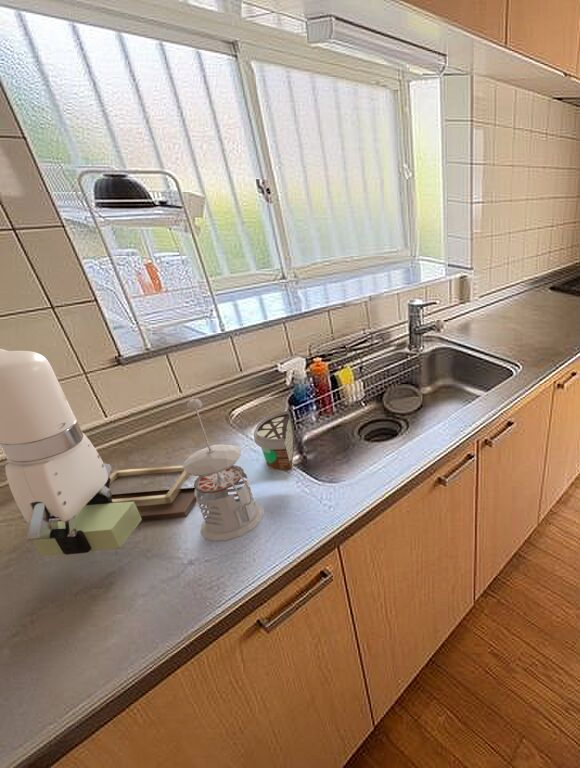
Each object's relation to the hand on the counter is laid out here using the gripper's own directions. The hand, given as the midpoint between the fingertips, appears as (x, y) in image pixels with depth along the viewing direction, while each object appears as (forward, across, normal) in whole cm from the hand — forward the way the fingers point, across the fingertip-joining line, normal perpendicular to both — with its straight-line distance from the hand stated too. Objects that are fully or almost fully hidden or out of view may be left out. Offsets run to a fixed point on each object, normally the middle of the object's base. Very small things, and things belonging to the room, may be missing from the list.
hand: (93, 533), depth 66 cm
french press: (+5, -5, +18) cm, 19 cm away
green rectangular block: (+1, 0, 0) cm, 1 cm away
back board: (+5, -15, -1) cm, 16 cm away
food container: (+5, -21, +21) cm, 30 cm away
